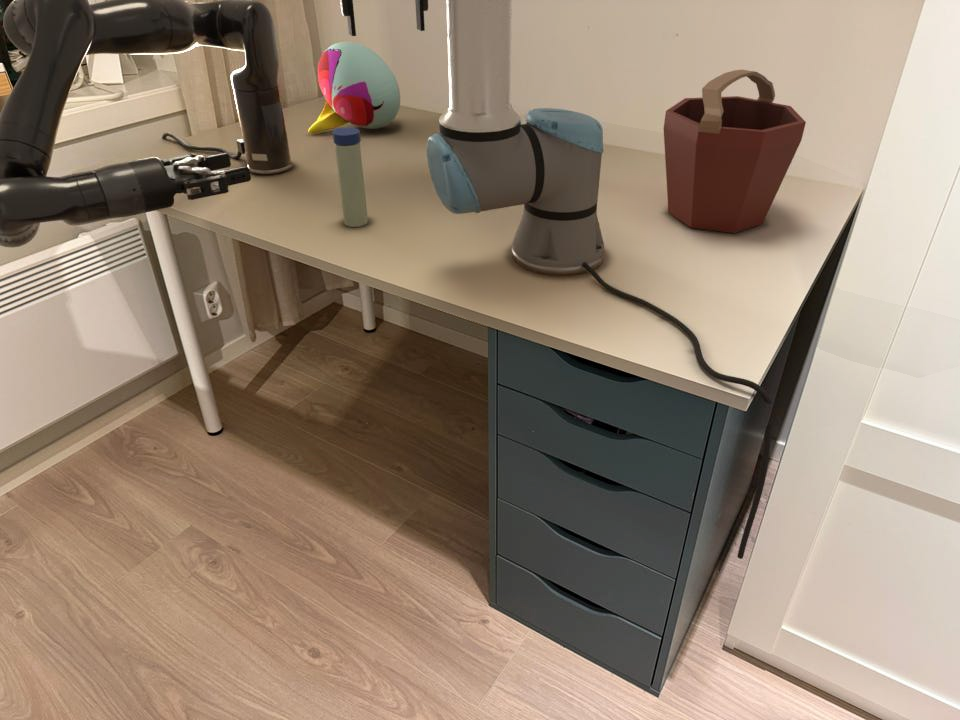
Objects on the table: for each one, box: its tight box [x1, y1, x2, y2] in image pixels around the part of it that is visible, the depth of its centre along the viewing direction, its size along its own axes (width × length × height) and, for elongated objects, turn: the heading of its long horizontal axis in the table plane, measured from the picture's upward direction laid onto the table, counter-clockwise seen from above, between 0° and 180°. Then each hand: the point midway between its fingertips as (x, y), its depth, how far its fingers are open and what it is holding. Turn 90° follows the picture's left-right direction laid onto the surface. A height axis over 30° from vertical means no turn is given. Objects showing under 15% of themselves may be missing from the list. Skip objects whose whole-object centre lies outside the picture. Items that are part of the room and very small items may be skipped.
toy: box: [307, 41, 401, 134], centre depth 176 cm, size 24×24×20 cm
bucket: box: [663, 69, 807, 234], centre depth 125 cm, size 24×22×25 cm
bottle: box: [334, 141, 369, 228], centre depth 126 cm, size 4×4×16 cm
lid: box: [331, 127, 362, 145], centre depth 121 cm, size 5×5×2 cm
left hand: (239, 166), depth 112 cm, fingers open, 8 cm apart
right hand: (387, 32), depth 136 cm, fingers open, 13 cm apart
